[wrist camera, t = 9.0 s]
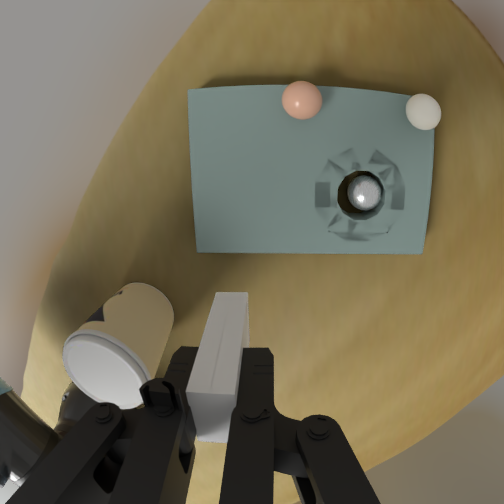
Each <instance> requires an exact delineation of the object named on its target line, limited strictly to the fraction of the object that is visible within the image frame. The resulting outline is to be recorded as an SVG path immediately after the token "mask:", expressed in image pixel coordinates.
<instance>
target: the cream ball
mask: <svg viewBox="0 0 504 504" xmlns="http://www.w3.org/2000/svg"><path fill="white" fill-rule="evenodd" d="M406 115H407V118H408V120H409V121H410V123H411V124H412V125H413V126H415V127H416V128H418V129H421V130H430V129H433V128H434V127H436V126H437V125H438V123H439V121H440V119H441V109H440V106H439V104H438V103H437V101H436V100H435V99H434V98H432V97H431V96H429V95H426V94H416V95H414V96H412V97H411V98H410V99H409V100H408V102H407V104H406Z"/></svg>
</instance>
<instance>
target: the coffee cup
mask: <svg viewBox="0 0 504 504" xmlns="http://www.w3.org/2000/svg"><path fill="white" fill-rule="evenodd" d="M173 323H174V311H173V308H172V305H171V303H170V302H169V300H168V299H167V297H166V296H165V295H164V294H163V293H162V292H161V291H159V290H158V289H156V288H155V287H153V286H151V285H148V284H145V283H130V284H127V285H125V286H124V287H122V288H121V289H120V290H119V291H117V292H116V293H115V294H114V295H113V296H112V297H111V298H110V299H109V300H108V301H107V302H105V303H104V304H103V305H102V306H101V307H100V308H99V309H98V310H97V311H96V312H95V313H94V314H93V315H92V316H91V317H90V318H89V319H88V320H87V321H86V322H85V323H84V324H83V325H82V326H81V327H80V328H79V329H78V330H77V331H75V332H74V333H72V334H71V335H70V336H69V337H68V338H67V340H66V341H65V343H64V348H63V355H62V356H63V363H64V367H65V369H66V371H67V373H68V375H69V377H70V378H71V380H72V381H73V382H74V383H75V384H76V386H77V387H78V388H79V389H80V390H82V391H83V392H84V393H85V394H86V395H88V396H89V397H91V398H92V399H94V400H95V401H97V402H99V403H101V402H111V403H114V404H116V405H117V406H119V408H120V409H131V408H135V407H137V406H139V405H140V404H142V403H143V400H142V397H141V394H140V391H139V389H140V387H141V386H142V385H143V384H144V383H145V382H147V381H149V380H152V379H154V377H155V375H156V372H157V369H158V366H159V363H160V361H161V358H162V355H163V352H164V349H165V346H166V344H167V341H168V338H169V335H170V332H171V329H172V326H173Z"/></svg>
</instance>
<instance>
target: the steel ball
mask: <svg viewBox="0 0 504 504" xmlns="http://www.w3.org/2000/svg"><path fill="white" fill-rule="evenodd" d="M347 195H348V199H349V201H350V202H351V204H352V205H353V206H354V207H356V208H357V209H360V210H370V209H372V208H374V207H375V206H377V204H378V203H379V201H380V199H381V188H380V185H379V184H378V182H377V181H376V180H375V179H374V178H372V177H370V176H365V175H362V176H358V177H356V178H354V179H353V180H352V181H351V182H350V184H349V186H348V190H347Z"/></svg>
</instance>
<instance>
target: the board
mask: <svg viewBox="0 0 504 504" xmlns="http://www.w3.org/2000/svg"><path fill="white" fill-rule="evenodd" d="M287 86H288V85H244V86H224V87H210V88H199V89H189V90H188V119H189V144H190V164H191V181H192V196H193V210H194V224H195V236H196V247H197V253H312V254H422V253H423V247H424V241H425V234H426V227H427V220H428V212H429V204H430V194H431V184H432V171H433V155H434V128H433V129H430V130H421V129H418V128H416V127H415V126H413V125H412V124H411V123H410V121H409V120H408V118H407V115H406V104H407V102H408V100H409V99H410V98H411V97H412V96H410V95H404V94H397V93H390V92H383V91H375V90H366V89H356V88H345V87H331V86H316V87H317V88H318V90H319V91H320V93H321V95H322V107H321V109H320V111H319V112H318V113H317V114H316V115H315V116H314V117H312V118H310V119H305V120H300V119H296V118H293V117H292V116H290V115H289V114H288V113H287V112H286V111H285V110H284V108H283V105H282V94H283V92H284V90H285V88H286V87H287ZM356 170H359V171H368V172H370V173H371V174H372V175H373V177H374V179H375V180H376V181H377V182H378V184H379V185H380V188H381V199H380V201H379V203H378V204H377V206H375V207H374V208H372V209H370V210H365V211H363V212H361V213H347V212H346V211H344V210H343V209H341V208H340V206H339V204H338V202H337V194H338V187H339V185H340V184H341V182H342V181H343V179H344V177H345V176H347V175H349V174H351V173H353V172H355V171H356Z"/></svg>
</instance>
